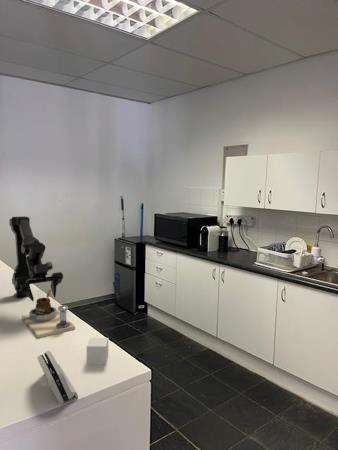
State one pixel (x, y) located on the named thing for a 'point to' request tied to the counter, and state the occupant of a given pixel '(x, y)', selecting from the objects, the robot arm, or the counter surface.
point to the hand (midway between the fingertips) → (44, 298)
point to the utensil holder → (43, 305)
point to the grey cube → (97, 351)
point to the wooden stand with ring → (48, 322)
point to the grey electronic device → (56, 378)
